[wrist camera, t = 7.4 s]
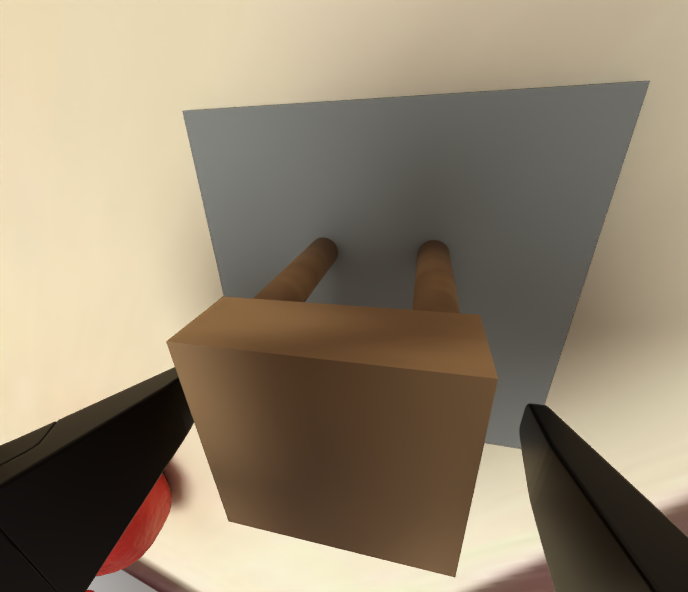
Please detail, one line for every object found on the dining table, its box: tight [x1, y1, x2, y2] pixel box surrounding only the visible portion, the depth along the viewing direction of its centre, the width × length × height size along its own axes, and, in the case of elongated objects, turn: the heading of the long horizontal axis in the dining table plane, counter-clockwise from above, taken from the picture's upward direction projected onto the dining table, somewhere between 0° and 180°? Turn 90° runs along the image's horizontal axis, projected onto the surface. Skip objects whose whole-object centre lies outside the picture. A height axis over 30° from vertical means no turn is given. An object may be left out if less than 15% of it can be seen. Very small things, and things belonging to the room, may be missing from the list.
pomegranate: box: [86, 474, 171, 592], centre depth 22 cm, size 10×10×9 cm
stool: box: [166, 237, 498, 577], centre depth 10 cm, size 6×6×8 cm
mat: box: [183, 81, 650, 449], centre depth 14 cm, size 15×15×1 cm
